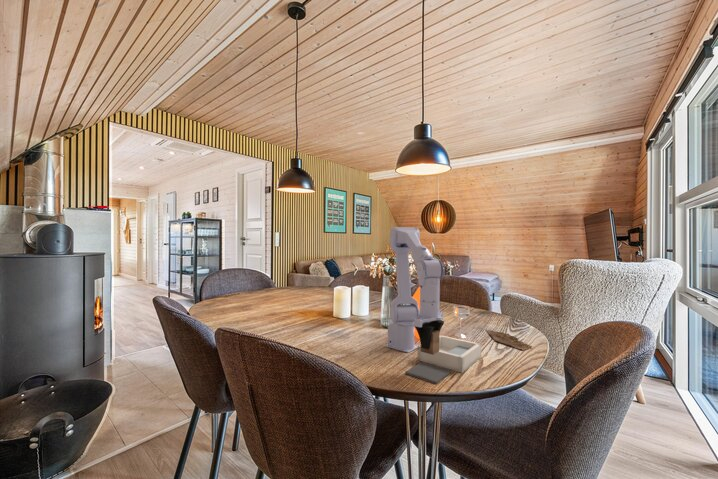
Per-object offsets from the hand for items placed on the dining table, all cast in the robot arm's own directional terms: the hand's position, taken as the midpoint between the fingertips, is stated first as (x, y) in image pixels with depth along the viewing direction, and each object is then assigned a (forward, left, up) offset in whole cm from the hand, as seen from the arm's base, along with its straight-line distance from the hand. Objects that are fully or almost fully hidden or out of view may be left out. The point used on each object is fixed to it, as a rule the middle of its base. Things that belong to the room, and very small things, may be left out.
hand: (429, 346), depth 94 cm
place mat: (0, 0, -8) cm, 8 cm away
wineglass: (-7, +42, -8) cm, 43 cm away
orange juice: (-19, +32, -8) cm, 38 cm away
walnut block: (0, 0, -1) cm, 1 cm away
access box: (0, +15, -8) cm, 17 cm away
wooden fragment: (+8, +49, -8) cm, 50 cm away
